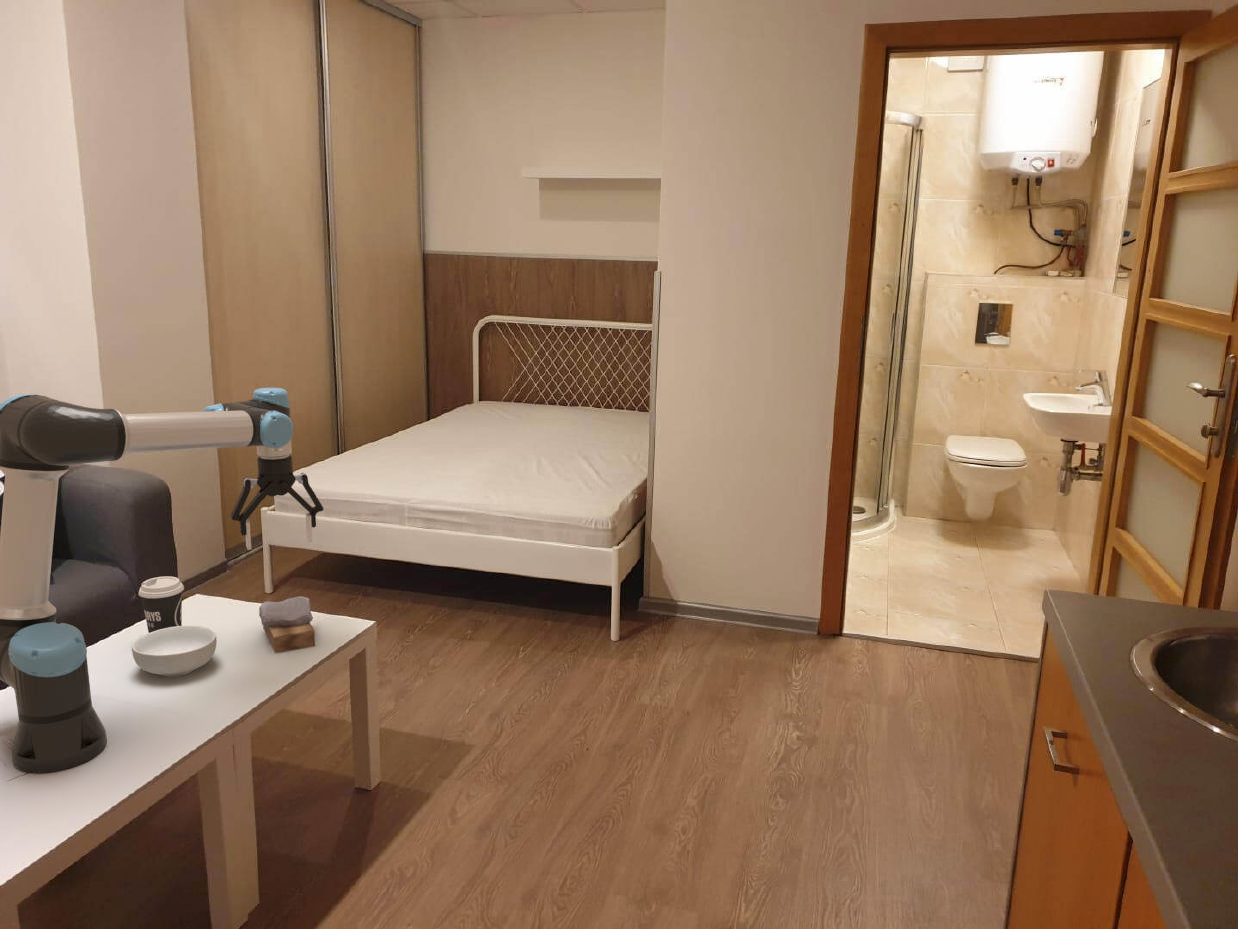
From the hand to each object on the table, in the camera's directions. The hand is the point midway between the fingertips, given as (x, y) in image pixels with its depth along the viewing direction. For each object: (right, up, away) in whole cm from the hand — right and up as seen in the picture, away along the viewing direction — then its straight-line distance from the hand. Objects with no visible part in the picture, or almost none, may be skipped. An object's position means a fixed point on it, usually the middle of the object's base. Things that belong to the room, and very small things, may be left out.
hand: (279, 544), depth 223 cm
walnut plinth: (0, -23, +5) cm, 23 cm away
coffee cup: (-27, -23, +1) cm, 36 cm away
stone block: (0, -19, +5) cm, 19 cm away
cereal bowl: (-18, -27, -12) cm, 35 cm away
